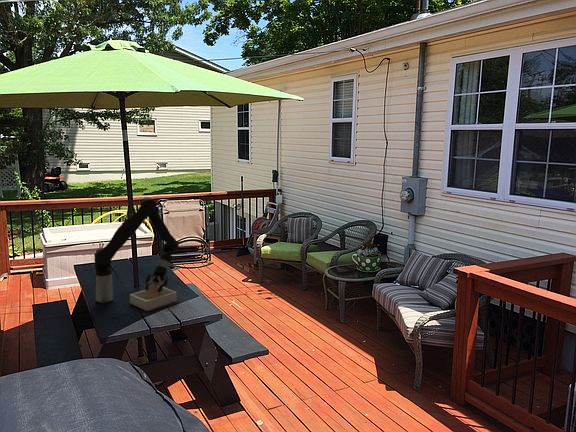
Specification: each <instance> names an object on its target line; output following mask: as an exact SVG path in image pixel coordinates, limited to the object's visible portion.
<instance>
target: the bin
mask: <svg viewBox="0 0 576 432" xmlns="http://www.w3.org/2000/svg"><path fill="white" fill-rule="evenodd" d="M159 286H160V285H158V289H159ZM175 302H178V292H177V291H175V290H172V289H170V288H167V287H165V286H164V287H163V288H162V291H161V292H158V297H157V298H154V299H151V300H149V290H148V291H146V289H145V290H139V291H136V292H134V293H131V294H129V304H131V305H133V306H135V307H137V308H139V309H141V310H144V311H146V312H147V311H152V310H154V309H157V308H160V307H163V306H166V305H169V304H172V303H173V304H174V303H175Z"/></svg>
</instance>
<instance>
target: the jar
mask: <svg viewBox="0 0 576 432" xmlns="http://www.w3.org/2000/svg"><path fill="white" fill-rule="evenodd" d="M158 286H159V285H158V283H153V284H151V285H149V300H151V299H154V298H157V297H158Z"/></svg>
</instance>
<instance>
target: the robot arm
mask: <svg viewBox="0 0 576 432" xmlns="http://www.w3.org/2000/svg"><path fill="white" fill-rule="evenodd" d="M139 205H140V206H139V208H138V209H137V210H136V212H135V213H133V215H130V216H129V217H128V218H126V220H125V221H123V222H122V223H121V225H119V227H117V229H116V231H115V232H114V234H113V235H112V237H111V239H110V241H109V242H108V243H107V244H106V246H104V247H101V248H98V249H96V251H95V252H94V258H93V259H94V269H95V278H96V279H95V280H96V285H95V286H94V287H95V300H96V301H97V302H98V303H100V304H103V303H104V304H105V303H110V302H112V301H114V290H113V287H114V286H113V273H112V272H113V270H112V264H111V263H112V262H111V261H112V259H113V258H114V257H115V256H116V254H117V253H118V251H119V250H120V249H121V248H122V247H123V246H124V245H125V243H126V242H128V241H129V240H130V238H132V236H133V235H134V234H135V233H136V232H137V230H138V229H139V228H140V227H141V225H142V224H143V223H144V221H145V220H146V219H147V218H149V220H150V221H151V224H152V225H153V227H154V230H155V232H156V233H157V235H158V237H159V239H160V241H164V243H163V245H162V249H161V255H160V258H159V260H158V262H157V264H156V266H155V268H154V270H153V274H152V275H151V274H147V277H146V279H145V280H144V283H145V284H146V285H145V290H146V291H148V290H149V285H151V284H159V285H158V286H159V289H158V292H161V291H162V288H163V287H165V288H167V285H168V283H169V280H170V278H169V277H168V276H166V275H167V273H168V271H169V268H170V266H171V265H170V264H171V262H172V260H173V256H172V255H173V254H171V252H172V253H173V252H177V251H178V250H179V247H180V245H179V242H178V241H177V240H176V238H175V237H174V235H172V234H171V233H170V231H169V229H168V228H167V225H166V223H165V222H164V221H163V220H162V217H161V216H160V214H159V212H158V210H157V202H156V200H155V199H153V198H152V197H144V198H142V199H141V201H140V204H139Z"/></svg>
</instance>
